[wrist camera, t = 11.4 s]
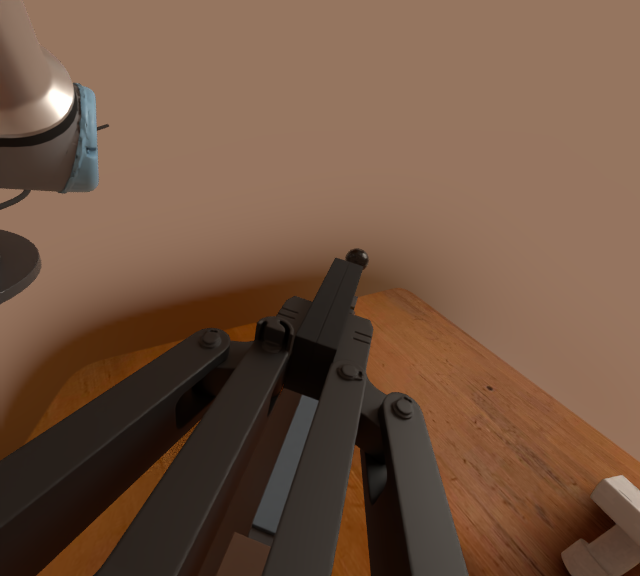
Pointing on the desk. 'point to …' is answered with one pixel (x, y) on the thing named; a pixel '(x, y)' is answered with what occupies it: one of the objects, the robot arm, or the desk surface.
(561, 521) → the desk surface
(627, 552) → the handle
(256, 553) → the sliding lever mechanism
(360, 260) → the bolt
